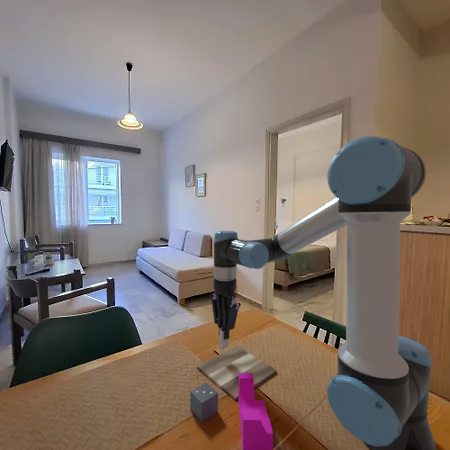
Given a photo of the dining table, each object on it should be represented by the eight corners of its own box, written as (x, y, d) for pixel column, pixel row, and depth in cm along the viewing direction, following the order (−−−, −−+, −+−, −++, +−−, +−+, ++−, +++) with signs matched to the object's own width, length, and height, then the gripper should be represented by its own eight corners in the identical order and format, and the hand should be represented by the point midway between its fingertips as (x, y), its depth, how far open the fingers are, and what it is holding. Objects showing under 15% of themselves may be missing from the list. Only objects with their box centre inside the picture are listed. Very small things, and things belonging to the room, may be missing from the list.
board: (276, 372, 80) (276, 369, 80) (235, 400, 68) (235, 397, 68) (236, 348, 93) (236, 346, 93) (196, 368, 81) (196, 365, 81)
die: (218, 411, 64) (218, 392, 64) (201, 422, 61) (201, 402, 60) (206, 400, 68) (206, 381, 68) (190, 410, 65) (190, 390, 64)
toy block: (272, 453, 54) (273, 420, 53) (242, 453, 53) (243, 420, 53) (261, 399, 68) (262, 373, 68) (238, 399, 68) (238, 373, 68)
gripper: (247, 280, 81) (245, 351, 82) (220, 272, 90) (219, 335, 92) (230, 284, 76) (228, 360, 77) (203, 275, 85) (203, 342, 87)
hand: (223, 346), depth 85 cm, fingers closed
